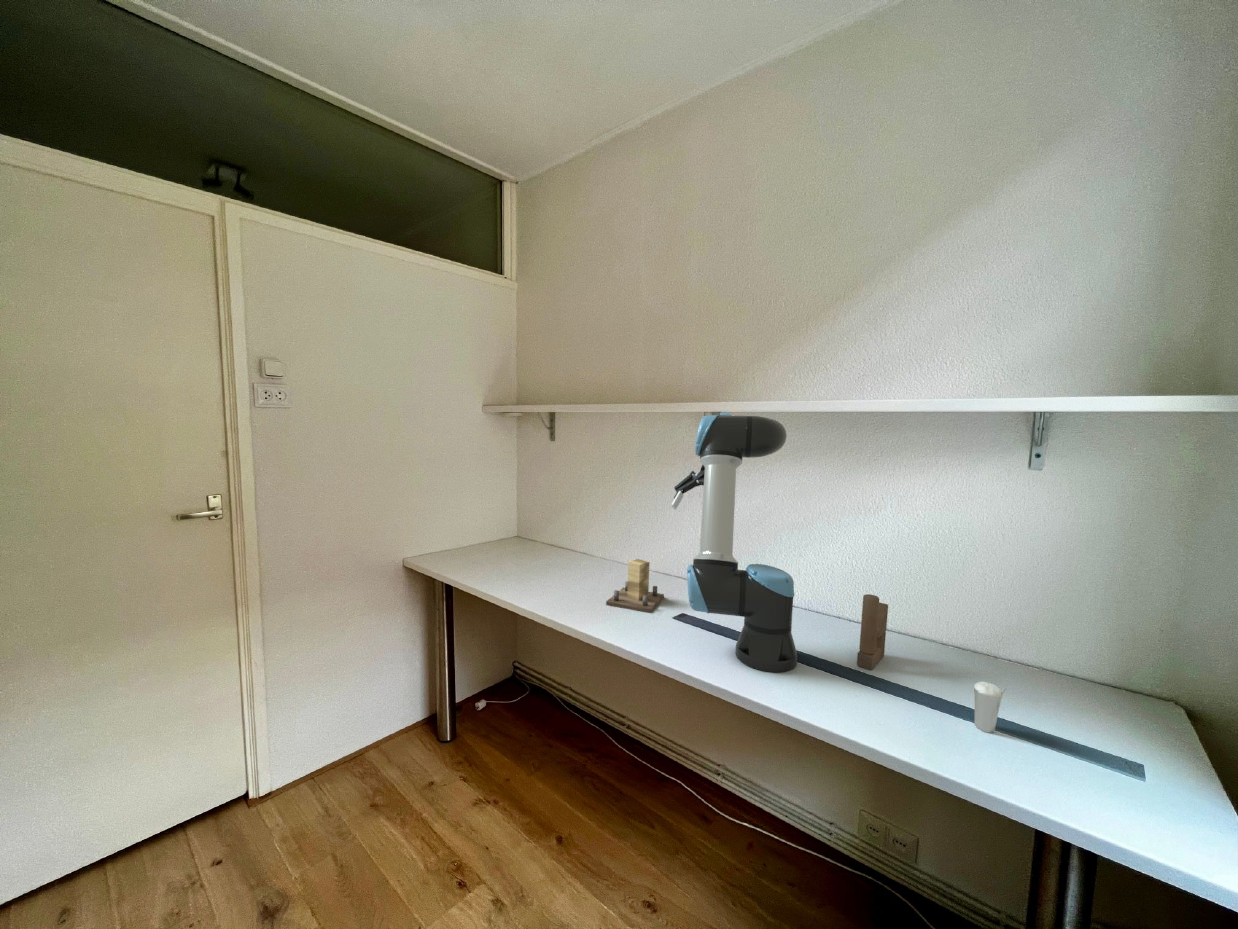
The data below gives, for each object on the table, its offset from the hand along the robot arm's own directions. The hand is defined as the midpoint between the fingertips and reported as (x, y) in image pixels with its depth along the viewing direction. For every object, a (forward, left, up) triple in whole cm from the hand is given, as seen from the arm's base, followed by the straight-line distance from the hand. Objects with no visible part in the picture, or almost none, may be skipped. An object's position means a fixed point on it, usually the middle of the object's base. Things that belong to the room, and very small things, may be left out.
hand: (689, 510), depth 170 cm
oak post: (-14, +13, -28) cm, 34 cm away
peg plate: (-15, +13, -30) cm, 36 cm away
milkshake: (-50, -75, -30) cm, 95 cm away
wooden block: (-28, -56, -30) cm, 69 cm away
